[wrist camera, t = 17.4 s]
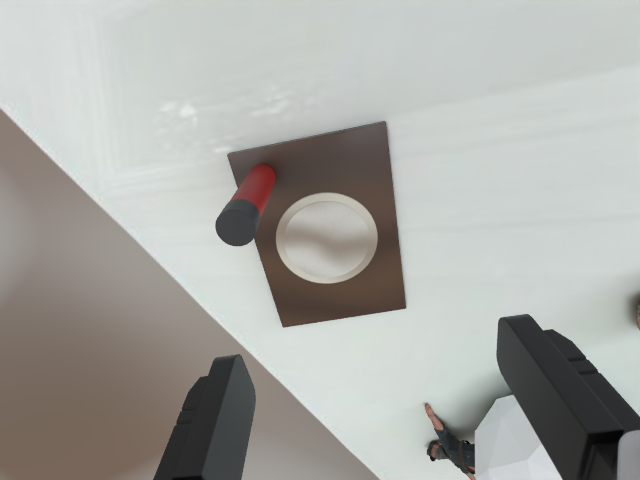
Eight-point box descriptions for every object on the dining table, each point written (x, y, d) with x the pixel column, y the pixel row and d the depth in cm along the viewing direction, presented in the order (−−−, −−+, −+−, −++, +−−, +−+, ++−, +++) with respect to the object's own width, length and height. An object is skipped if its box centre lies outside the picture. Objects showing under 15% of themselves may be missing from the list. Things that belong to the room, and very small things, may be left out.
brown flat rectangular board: (228, 153, 31) (226, 155, 30) (384, 120, 29) (386, 122, 29) (283, 324, 40) (282, 329, 39) (405, 305, 38) (406, 310, 37)
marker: (245, 166, 31) (209, 214, 21) (272, 161, 30) (249, 206, 21) (253, 192, 32) (222, 249, 22) (279, 187, 32) (260, 242, 22)
